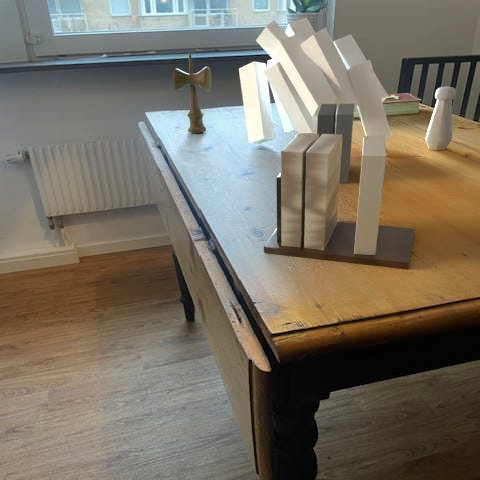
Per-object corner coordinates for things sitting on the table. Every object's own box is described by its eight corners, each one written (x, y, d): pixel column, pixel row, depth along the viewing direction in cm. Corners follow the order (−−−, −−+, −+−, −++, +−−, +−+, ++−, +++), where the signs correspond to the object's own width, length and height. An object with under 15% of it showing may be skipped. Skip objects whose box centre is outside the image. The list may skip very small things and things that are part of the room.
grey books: (349, 168, 108) (354, 103, 100) (348, 183, 100) (353, 114, 92) (319, 167, 109) (321, 103, 102) (315, 183, 101) (317, 114, 94)
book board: (414, 234, 79) (429, 135, 70) (407, 269, 69) (424, 160, 61) (285, 222, 85) (285, 130, 77) (263, 252, 76) (260, 152, 68)
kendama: (211, 135, 138) (205, 53, 127) (177, 135, 140) (168, 54, 129) (216, 129, 143) (210, 50, 132) (183, 129, 144) (175, 51, 133)
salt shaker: (453, 146, 117) (464, 85, 110) (446, 152, 113) (457, 90, 106) (427, 143, 120) (436, 84, 113) (420, 149, 116) (429, 89, 109)
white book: (375, 227, 79) (385, 135, 71) (375, 255, 71) (386, 155, 63) (356, 226, 80) (363, 135, 72) (353, 254, 72) (362, 155, 64)
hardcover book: (338, 111, 155) (339, 96, 152) (405, 106, 155) (406, 91, 153) (348, 119, 145) (349, 104, 142) (419, 114, 145) (421, 98, 143)
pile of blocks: (387, 148, 137) (353, 16, 132) (410, 129, 108) (368, -42, 103) (266, 189, 143) (229, 64, 138) (256, 181, 114) (209, 22, 109)
